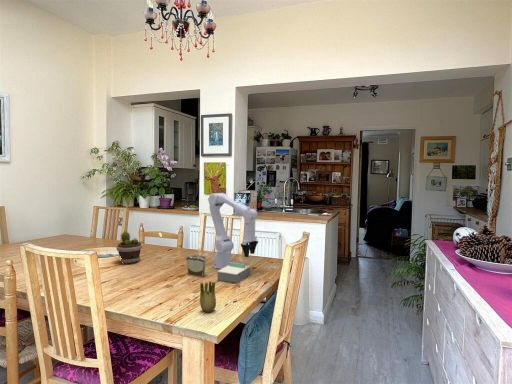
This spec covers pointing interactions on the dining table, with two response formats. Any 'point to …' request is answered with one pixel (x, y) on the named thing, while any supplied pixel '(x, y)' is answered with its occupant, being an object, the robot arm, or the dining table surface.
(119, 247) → the flowerpot
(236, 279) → the grey sliding-lid box
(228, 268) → the lid
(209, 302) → the fennel bulb
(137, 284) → the dining table surface
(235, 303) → the dining table surface
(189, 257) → the food container
